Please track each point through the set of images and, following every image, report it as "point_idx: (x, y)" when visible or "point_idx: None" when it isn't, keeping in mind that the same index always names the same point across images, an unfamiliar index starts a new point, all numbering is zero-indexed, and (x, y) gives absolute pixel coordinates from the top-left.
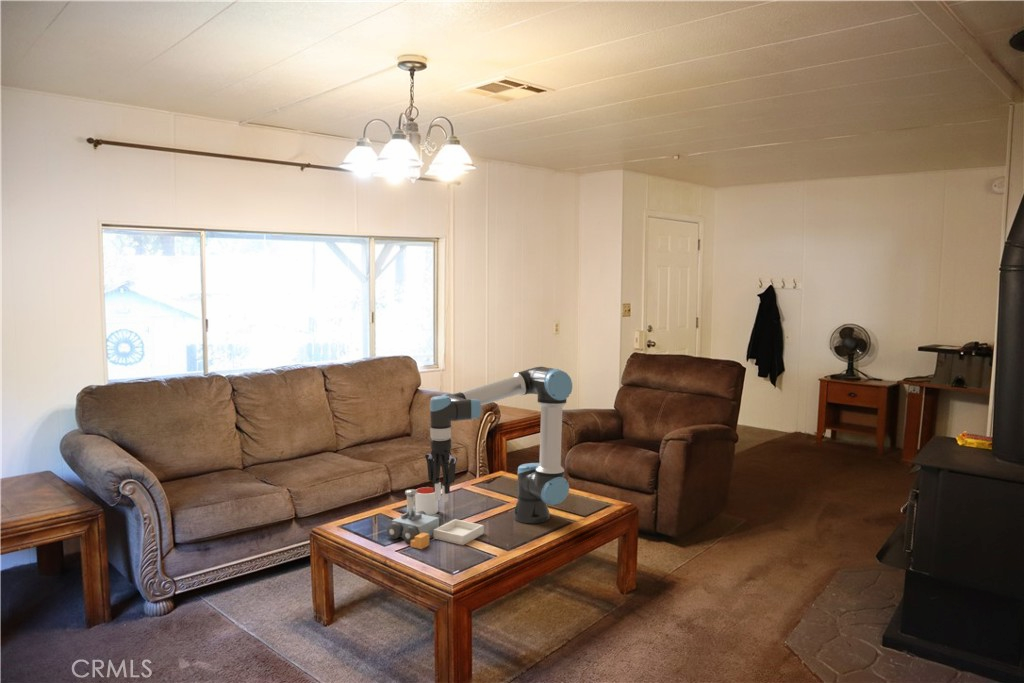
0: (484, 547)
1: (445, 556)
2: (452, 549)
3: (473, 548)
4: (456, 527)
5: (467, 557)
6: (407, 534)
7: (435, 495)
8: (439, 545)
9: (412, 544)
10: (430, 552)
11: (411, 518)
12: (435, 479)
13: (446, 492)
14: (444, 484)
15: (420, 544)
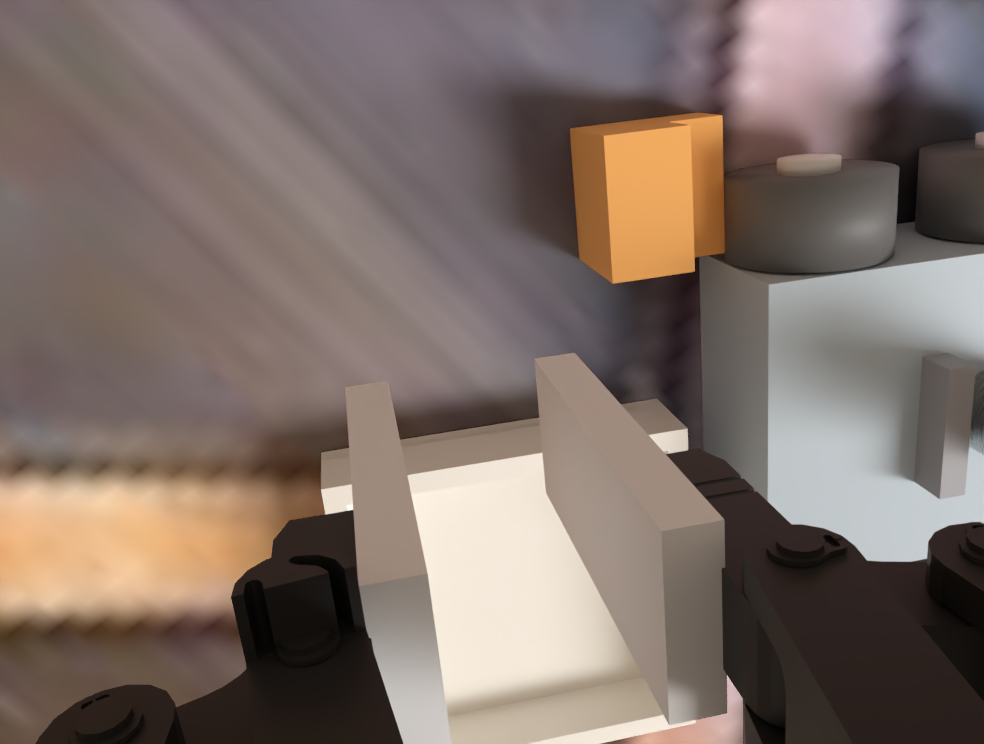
0: (120, 538)
1: (240, 144)
2: (321, 317)
3: (182, 459)
4: (630, 662)
5: (46, 265)
6: (815, 158)
7: (594, 395)
8: (492, 309)
9: (683, 116)
10: (437, 126)
11: (978, 382)
12: (778, 624)
13: (304, 532)
14: (271, 588)
15: (589, 130)
